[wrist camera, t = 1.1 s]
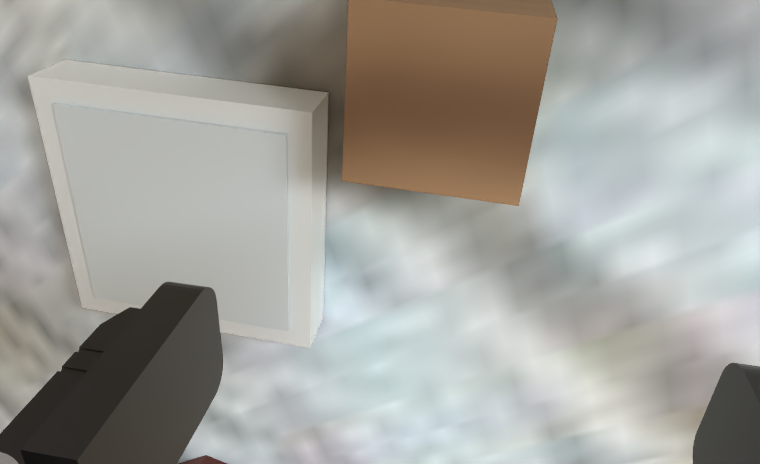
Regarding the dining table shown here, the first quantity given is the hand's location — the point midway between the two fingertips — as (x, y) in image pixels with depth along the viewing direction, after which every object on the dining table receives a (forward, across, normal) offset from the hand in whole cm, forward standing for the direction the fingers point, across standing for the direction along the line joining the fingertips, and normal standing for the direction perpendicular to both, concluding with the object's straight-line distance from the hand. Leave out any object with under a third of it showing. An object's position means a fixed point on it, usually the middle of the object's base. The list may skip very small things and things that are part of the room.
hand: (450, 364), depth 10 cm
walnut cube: (+17, +1, -1) cm, 17 cm away
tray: (+17, +12, +7) cm, 22 cm away
